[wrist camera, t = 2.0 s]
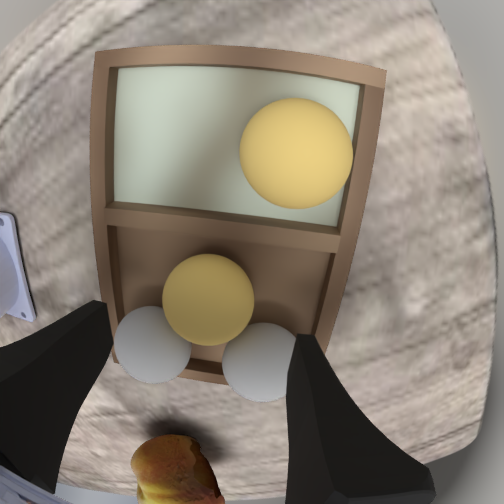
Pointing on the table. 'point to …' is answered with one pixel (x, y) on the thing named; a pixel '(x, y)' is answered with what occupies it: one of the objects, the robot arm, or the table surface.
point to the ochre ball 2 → (296, 153)
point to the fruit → (174, 472)
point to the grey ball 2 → (259, 361)
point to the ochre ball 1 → (208, 299)
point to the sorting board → (220, 181)
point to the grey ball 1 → (150, 346)
